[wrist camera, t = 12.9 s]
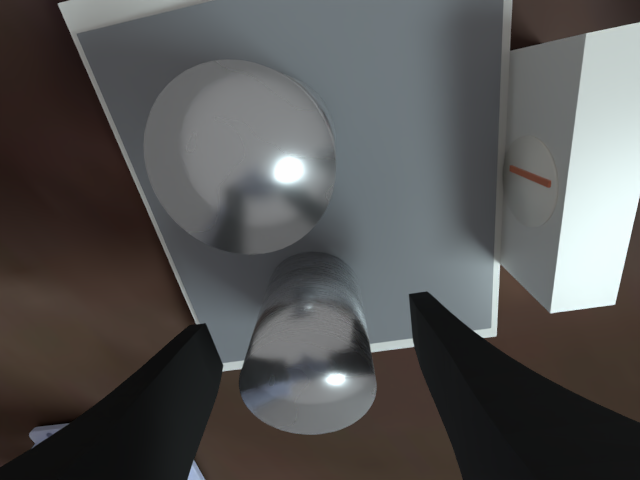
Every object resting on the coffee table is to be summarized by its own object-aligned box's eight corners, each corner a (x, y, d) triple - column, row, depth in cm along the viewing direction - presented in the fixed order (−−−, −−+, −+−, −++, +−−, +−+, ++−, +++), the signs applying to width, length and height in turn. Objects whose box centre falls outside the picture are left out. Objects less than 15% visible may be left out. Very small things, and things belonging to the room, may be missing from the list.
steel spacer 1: (237, 200, 12) (180, 262, 8) (207, 85, 11) (112, 78, 6) (341, 186, 12) (346, 244, 7) (326, 65, 10) (321, 41, 6)
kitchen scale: (225, 349, 18) (191, 435, 14) (91, 14, 12) (-61, -36, 7) (521, 309, 17) (594, 391, 12) (556, -102, 10) (743, -259, 6)
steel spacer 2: (290, 339, 15) (274, 445, 11) (252, 269, 14) (213, 358, 9) (372, 314, 14) (393, 417, 10) (341, 238, 13) (349, 317, 8)
